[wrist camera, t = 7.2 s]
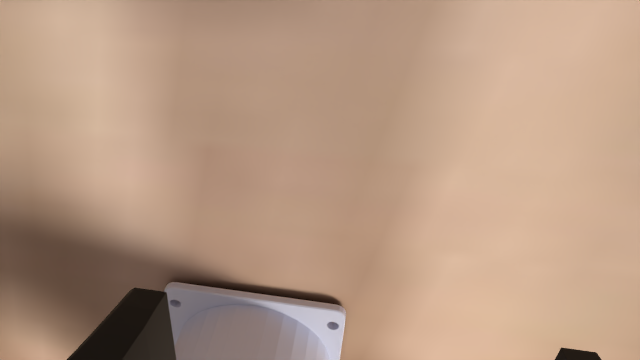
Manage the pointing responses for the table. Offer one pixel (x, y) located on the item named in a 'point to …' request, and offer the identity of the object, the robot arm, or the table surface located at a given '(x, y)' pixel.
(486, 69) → the table surface
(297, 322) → the robot arm
